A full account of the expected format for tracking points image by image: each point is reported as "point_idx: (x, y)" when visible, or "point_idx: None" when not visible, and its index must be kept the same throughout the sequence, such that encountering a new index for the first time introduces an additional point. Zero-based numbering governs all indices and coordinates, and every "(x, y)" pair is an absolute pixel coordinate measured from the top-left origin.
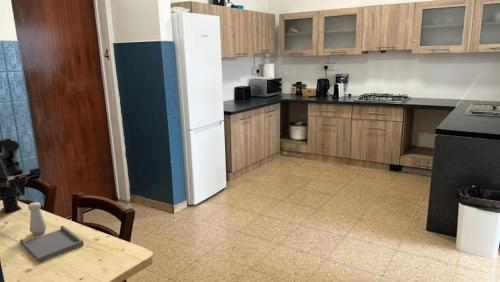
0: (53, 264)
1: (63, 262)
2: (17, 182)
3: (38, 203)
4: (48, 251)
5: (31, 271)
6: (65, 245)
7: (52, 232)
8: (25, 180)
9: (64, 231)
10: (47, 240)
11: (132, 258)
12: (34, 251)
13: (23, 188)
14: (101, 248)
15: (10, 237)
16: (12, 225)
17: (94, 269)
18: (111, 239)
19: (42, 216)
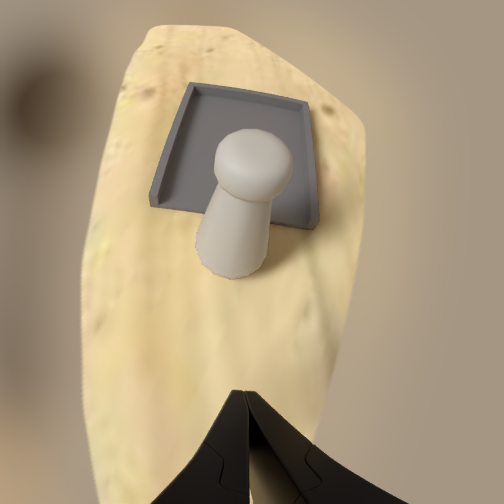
0: (282, 89)
1: (263, 81)
2: (324, 496)
3: (235, 133)
4: (269, 122)
5: (325, 104)
6: (221, 112)
7: (194, 206)
8: (158, 496)
9: (166, 173)
10: None
11: (176, 31)
12: (305, 127)
13: (233, 424)
14: (177, 66)
15: (324, 320)
16: None
17: (237, 44)
18: (134, 75)
19: (210, 202)
